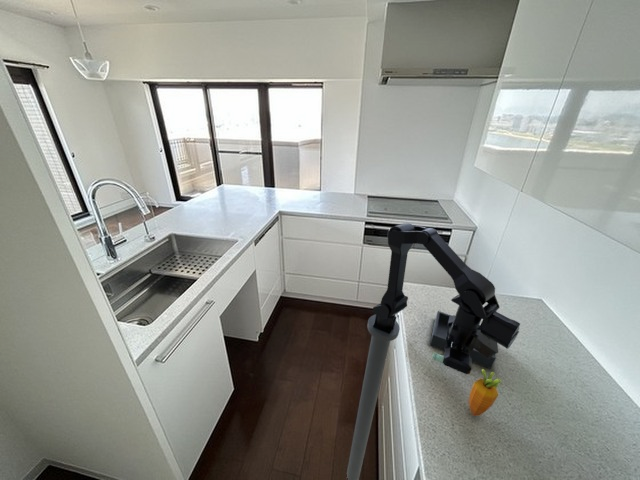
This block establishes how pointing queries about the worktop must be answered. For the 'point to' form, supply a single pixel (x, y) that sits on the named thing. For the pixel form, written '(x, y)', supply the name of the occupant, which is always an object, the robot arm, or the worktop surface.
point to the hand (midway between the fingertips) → (450, 362)
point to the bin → (440, 341)
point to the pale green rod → (438, 357)
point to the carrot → (483, 394)
